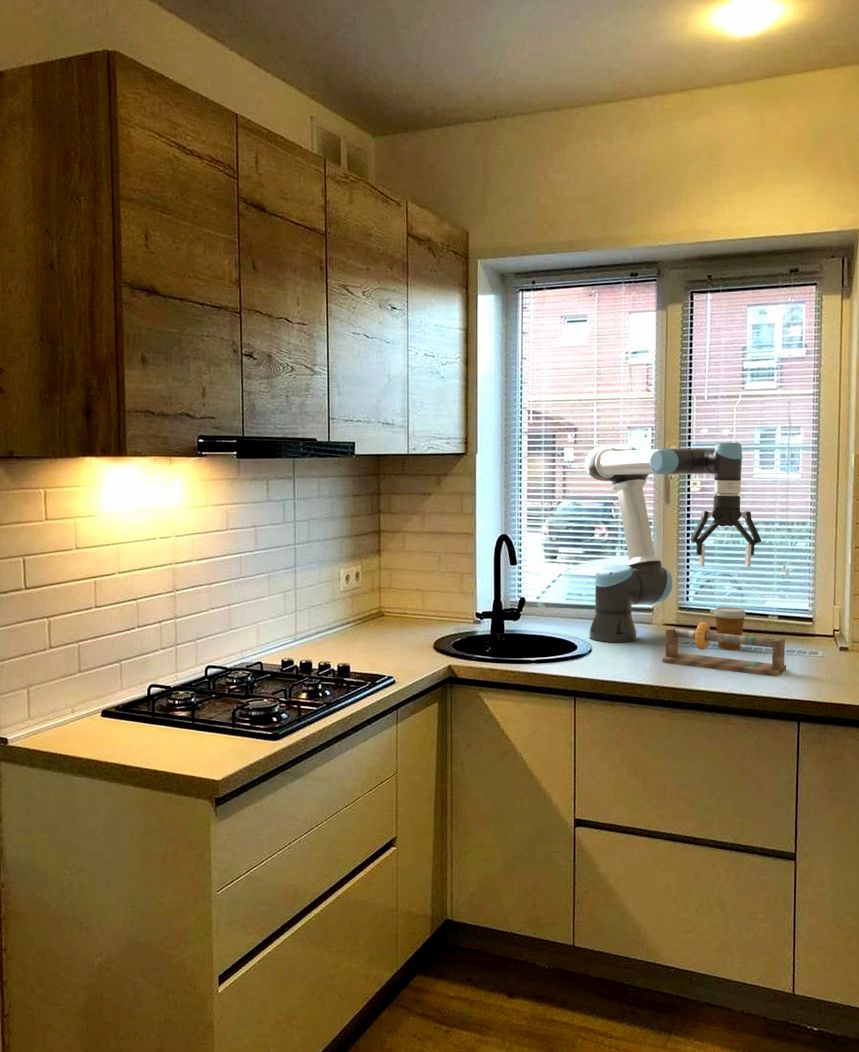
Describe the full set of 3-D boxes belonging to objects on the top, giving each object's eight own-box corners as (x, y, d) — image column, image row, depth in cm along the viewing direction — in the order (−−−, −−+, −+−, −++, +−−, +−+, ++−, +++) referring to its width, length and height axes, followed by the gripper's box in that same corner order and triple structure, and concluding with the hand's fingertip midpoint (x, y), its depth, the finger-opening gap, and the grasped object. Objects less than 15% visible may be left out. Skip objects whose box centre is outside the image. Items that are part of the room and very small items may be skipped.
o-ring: (693, 651, 267) (694, 623, 267) (702, 646, 274) (702, 619, 273) (702, 652, 266) (703, 624, 265) (711, 647, 272) (711, 620, 272)
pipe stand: (662, 662, 271) (663, 630, 271) (674, 656, 280) (674, 625, 279) (777, 676, 254) (778, 642, 253) (786, 669, 262) (787, 636, 261)
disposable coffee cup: (710, 648, 290) (711, 610, 290) (716, 643, 299) (717, 606, 298) (742, 651, 286) (743, 612, 285) (747, 646, 294) (748, 608, 294)
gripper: (688, 495, 274) (685, 567, 275) (774, 495, 273) (771, 568, 275) (681, 493, 281) (679, 564, 283) (765, 494, 281) (762, 564, 283)
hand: (724, 566), depth 279 cm, fingers open, 13 cm apart
